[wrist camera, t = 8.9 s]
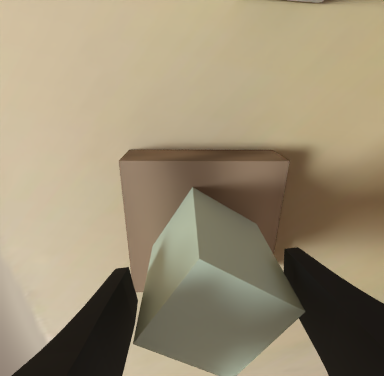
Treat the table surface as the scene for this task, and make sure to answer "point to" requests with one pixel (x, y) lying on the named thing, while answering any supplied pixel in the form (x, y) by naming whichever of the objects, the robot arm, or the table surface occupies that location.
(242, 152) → the walnut block
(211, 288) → the green block
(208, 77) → the table surface
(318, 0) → the medicine box
